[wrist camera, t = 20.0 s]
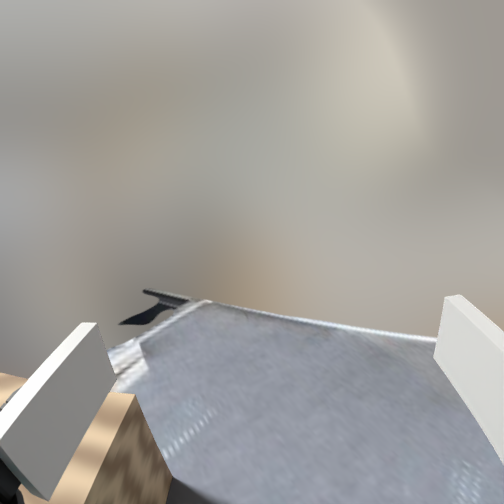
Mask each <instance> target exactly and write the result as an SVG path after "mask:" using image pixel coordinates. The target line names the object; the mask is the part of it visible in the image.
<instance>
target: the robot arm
mask: <svg viewBox="0 0 504 504" xmlns="http://www.w3.org/2000/svg"><path fill="white" fill-rule="evenodd" d="M433 358H434V359H435V361H436V362H437V363H438V365H439V366H440V367H441V369H442V370H443V372H444V373H445V374H446V376H447V377H448V379H449V380H450V382H451V383H452V384H453V386H454V387H455V389H456V390H457V392H458V393H459V395H460V396H461V398H462V399H463V401H464V402H465V404H466V405H467V407H468V408H469V410H470V411H471V413H472V414H473V416H474V417H475V419H476V420H477V422H478V423H479V425H480V427H481V428H482V430H483V431H484V433H485V434H486V436H487V438H488V439H489V441H490V443H491V444H492V446H493V448H494V449H495V451H496V453H497V454H498V456H499V458H500V459H501V461H502V463H503V464H504V332H503V331H502V330H501V329H500V328H499V327H498V326H497V325H495V324H494V323H493V322H492V321H491V320H490V319H489V318H488V317H486V316H485V315H484V314H483V313H482V312H481V311H479V310H478V309H477V308H476V307H475V306H474V305H472V304H471V303H470V302H469V301H468V300H466V299H465V298H464V297H463V296H462V295H455V296H449V297H445V299H444V305H443V311H442V317H441V322H440V328H439V334H438V338H437V343H436V347H435V352H434V356H433ZM116 380H117V378H116V376H115V373H114V370H113V368H112V365H111V362H110V360H109V357H108V354H107V351H106V348H105V346H104V343H103V340H102V337H101V334H100V331H99V328H98V325H97V323H81V324H80V325H79V326H78V327H77V328H76V329H75V330H74V331H73V332H72V333H71V334H70V335H69V336H68V337H67V338H66V339H65V340H64V342H63V343H61V345H60V346H59V347H58V348H57V349H56V350H55V351H54V352H53V353H52V354H51V355H50V356H49V357H48V358H47V359H46V361H45V362H44V363H43V364H42V365H41V366H40V367H39V368H38V369H37V371H36V372H35V373H34V374H33V375H32V376H31V377H30V378H29V379H28V380H27V382H26V383H25V384H24V385H23V386H21V387H20V388H18V389H17V390H16V391H14V392H13V393H12V394H11V395H10V397H9V398H8V399H7V400H6V403H3V405H2V406H1V407H0V504H25V503H24V498H23V495H22V493H21V491H20V490H19V489H18V488H19V486H20V485H21V484H22V485H23V486H24V487H25V488H26V489H27V490H28V491H29V492H30V493H31V494H32V495H35V496H37V497H39V498H41V499H44V500H46V501H48V502H49V500H50V498H51V496H52V494H53V492H54V490H55V489H56V487H57V485H58V483H59V481H60V479H61V477H62V475H63V473H64V472H65V470H66V468H67V466H68V464H69V462H70V460H71V459H72V457H73V455H74V453H75V451H76V449H77V448H78V446H79V444H80V442H81V440H82V439H83V437H84V435H85V433H86V432H87V430H88V428H89V426H90V425H91V423H92V421H93V419H94V418H95V416H96V414H97V412H98V411H99V409H100V407H101V405H102V404H103V402H104V400H105V399H106V397H107V395H108V394H109V392H110V390H111V388H112V387H113V385H114V383H115V382H116Z"/></svg>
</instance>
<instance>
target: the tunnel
mask: <svg viewBox="0 0 504 504" xmlns="http://www.w3.org/2000/svg"><path fill="white" fill-rule="evenodd" d="M27 380H28V379H25V378H21V377H16V376H12V375H8V374H4V373H0V407H1V406H2V405H3V403H6V400H7V399H8V398H9V397H10V395H11V394H12V393H13V392H14V391H16V390H17V389H18V388H20V387H21V386H23V385H24V384H25V383H26V382H27ZM172 477H173V476H172V474H171V472H170V470H169V468H168V466H167V464H166V463H165V461H164V458H163V456H162V454H161V452H160V450H159V448H158V446H157V444H156V442H155V440H154V437H153V435H152V433H151V431H150V429H149V426H148V424H147V422H146V419H145V417H144V415H143V412H142V410H141V408H140V405H139V403H138V400H137V398H136V395H135V394H125V393H115V392H109V394H108V395H107V397H106V399H105V400H104V402H103V404H102V405H101V407H100V409H99V411H98V412H97V414H96V416H95V418H94V419H93V421H92V423H91V425H90V426H89V428H88V430H87V432H86V433H85V435H84V437H83V439H82V440H81V442H80V444H79V446H78V448H77V449H76V451H75V453H74V455H73V457H72V459H71V460H70V462H69V464H68V466H67V468H66V470H65V472H64V473H63V475H62V477H61V479H60V481H59V483H58V485H57V487H56V489H55V490H54V492H53V494H52V496H51V498H50V500H49V502H48V501H46V500H44V499H41V498H39V497H37V496H35V495H32V494H31V493H30V492H29V491H28V490H27V489H26V488H25V487H24V486H23V485H22V484H21V485H20V486H19V488H18V489H19V490H20V491H21V493H22V495H23V498H24V503H25V504H166V500H167V496H168V492H169V488H170V484H171V481H172Z"/></svg>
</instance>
